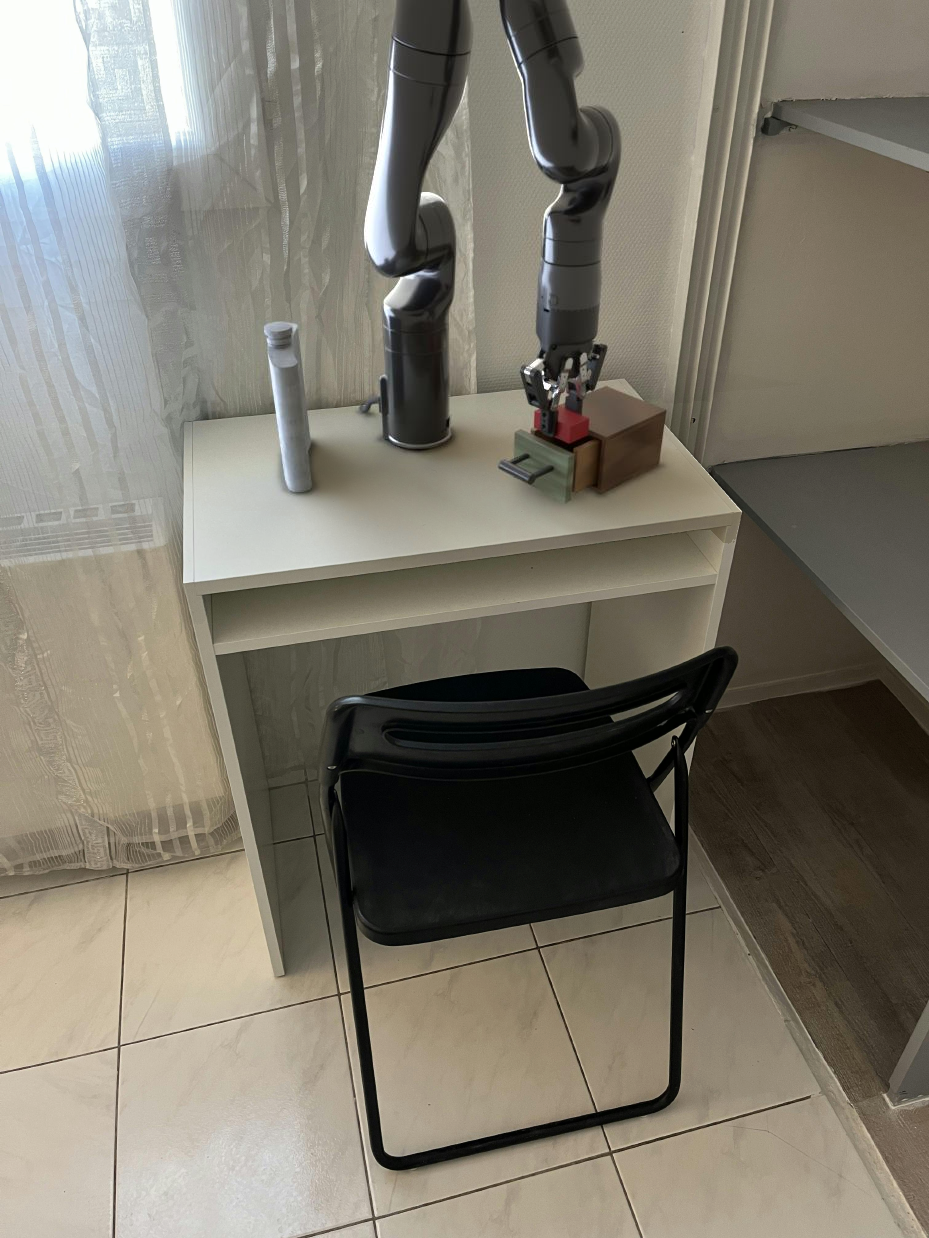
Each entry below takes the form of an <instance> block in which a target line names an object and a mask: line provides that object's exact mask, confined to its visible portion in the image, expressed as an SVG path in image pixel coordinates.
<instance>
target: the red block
mask: <svg viewBox="0 0 929 1238" xmlns="http://www.w3.org/2000/svg"><path fill="white" fill-rule="evenodd" d="M559 405H560V404H559ZM559 405H558V408H557V409H558V410H559V413H558V430H557V435H556V436H554V437H556V438H558V439H560V440H562V441H565V442H567V443H572V442H574V441H576V440H579V439H581V438H583V437H585V436H588V431H589V418H587V417H585V416H583V415H580V414H578V413H576V412H573V411H571V410H569V409H566V408H564V407H561V406H559ZM533 412H534V413H533V414H534V415H533V428H536V429H538V430H540V414H541V409H539V408H537V409H536V410H534V411H533ZM540 431H541V430H540Z"/></svg>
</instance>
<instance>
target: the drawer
mask: <svg viewBox="0 0 929 1238" xmlns="http://www.w3.org/2000/svg"><path fill="white" fill-rule="evenodd" d="M601 444H602V440H600V439H598V438H595V437H593V436H591V435H589V434H588V436H585V437H583V438H581V439H579V440H576V441H574V442H572V443H567V442H565V441H562V440H560V439H558V438H556V437H549V436H547V435H545V434H543V433H542V431H540V430H538V429H536V428H534V427H532V428H530V432H528V431H526V430H524V429H521V428H520V429H518V430H515V431H514V441H513V458H511V459H509V460H506V459H501V460H500V461H499V463H498V469H499V470H500V471H502V472H504V473H505V474H507V475H510V476H512V477H513V478H515V479H516V480H518V481H521V482H522V483H524V484H526V485H528V486H530V487H532V488H534V489H536V490H538V491H539V492H542V493H544V494H545V495H548V496H550V497H552V498H553V499H555V500H558V501H560V502H561V503H564V504H567V503H568V502H570V501H572V495H573V494H577V493H580V492H581V491H583V490H585V489H588V488H587V487H589V486H591V485H593V484H595V483H597V482H598V476H599V465H600V455H601Z"/></svg>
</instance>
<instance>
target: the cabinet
mask: <svg viewBox="0 0 929 1238" xmlns="http://www.w3.org/2000/svg"><path fill="white" fill-rule="evenodd" d="M559 406H561V407H564V408H565V402H562V403H561V404H559ZM582 415H583V416H585V417H587V418H589V431H588V434H589V435H591V436H593V437H595V438H598V439H600V440H602V444H601V455H600V465H599V476H598V482H597V483H595V484H593V485H591V486H589V487H587V488H586V489H588V490H590V491H592V492H595V493H597V494H599V495H603V494H605V493H607V492H608V491H610V490H613V489H614V488H616V487H618V486H620V485H623V484H624V483H626V482H629V481H630V480H633V479H634V478H636V477H639V476H641V475H643V474H644V473H647V472H648V471H651V470H652V469H654V468H656V467H658V466H660V459H661V453H662V445H663V439H664V432H665V424H666V417H667V409H666V408H664V407H660V406H659V405H656V404H654V403H651V402H648V401H645V400H642V399H640V398H638V397H635V396H633V395H630V394H627V393H625V392H624V391H623V392H622V391H619V390H617V389H615V388H612V387H610V386H607V385H604V386H602V387H599V388H597V389H594V390H593V391H589V392H587V393H586V397H585V398H584V399H583V405H582Z"/></svg>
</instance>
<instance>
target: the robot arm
mask: <svg viewBox="0 0 929 1238" xmlns="http://www.w3.org/2000/svg"><path fill="white" fill-rule="evenodd" d="M497 4H498V5H497V6H498V12H499V17H500V22H501V25H502V30H503V33H504V35H505V39H506V42H507V44H508V48H509V50H510V54H511V56H512V59H513V61H514V62H513V63H514V65H515V68H516V69H517V73H518V76H519V78H520V81H521V84H522V98H523V108H524V114H525V123H526V131H527V138H528V144H529V149H530V152H531V156H532V157H533V160H534V162H535V164H536V166H537V167H538V169H539V171H540V173H542V175H543V176H544V177H545V178H546V179H547V180H549V181H550V182H552V183H554V184H557V185H560V191H559V193H558V195H557V197H556V198H555V200H554V201H553V202H551V204H550V205H548V207H547V208H546V209H545V211H544V213H543V216H542V217H543V218H542V223H541V224H542V226H541V245H540V246H541V247H540V248H541V250H540V264H539V268H538V275H537V288H536V290H537V291H536V310H535V311H536V313H535V314H536V315H535V334H536V336H537V338H538V340H539V348H538V352H537V354H536V359H535V361H533V362H532V363H531V364H530V365H527V364H522V365H521V366H520V368H519V374H520V379H521V381H522V386H523V389H524V393H525V396H526V400H527V404H528V405H529V406H531V407H534V408H537V409H541V414H540V430H541V431H542V433H543V434H545V435H547V436H549V437H554V436H556V435H557V430H558V413H559V410H558V409H557V408H558V405H560V404H559V403H560V400H561V397H562V394H564V393H565V392H566V394H567V395H566V396H565V398H564V403H565V408H566V409H569V410H571V411H573V412H576V413H578V414H580V415H582V405H583V399H584V398H585V397H586V394H587V393H589V392H592V391H595V390H596V387H597V385H598V381H599V378H600V375H601V372H602V368H603V365H604V362H605V358H606V356H607V352H608V345H607V344H605V343H602V342H599V341H596V340H595V339H596V337H597V336H598V331H599V318H600V307H601V306H600V305H601V295H602V281H603V273H602V272H603V271H602V256H603V245H604V244H603V242H604V230H605V226H604V225H605V219H606V216H607V213H608V210H609V206H610V204H611V200H612V197H613V192H614V189H615V185H616V181H617V178H618V175H619V174H618V173H619V171H620V166H621V162H622V153H623V139H622V138H623V137H622V130H621V126H620V124H619V121H618V119H617V117H616V116H615V114H614V113H613V111H611V110H610V109H609V108H608V107H606V106H604V105H601V104H598V103H597V104H595V103H592V104H591V103H590V104H586V105H582V106H579V103H578V99H577V91H576V84H575V80H577V79H578V78H579V77H580V75H582V73H583V71H584V68H585V65H586V63H585V62H586V59H585V53H584V50H583V46H582V43H581V40H580V37H579V34H578V30H577V27H576V24H575V20H574V18H573V15H572V12H571V9H570V6H569V5H570V4H569V3H568V0H497ZM389 37H390V39H389V48H388V49H389V50H388V58H387V69H386V70H387V71H386V83H385V84H386V85H385V97H384V104H383V112H382V113H383V114H382V121H381V129H380V136H379V144H378V150H377V151H378V152H377V157H376V163H375V168H374V174H373V178H372V183H371V187H370V192H369V198H368V203H367V208H366V213H365V220H364V233H363V234H364V246H365V251H366V254H367V257H368V261H369V262H370V264H371V266H372V267H373V269H374V270H375V271H376V273H377V274H379V275H380V276H382V277H384V278H386V279H399V280H398V281H397V284H396V285H395V287H394V288H393V289H392V290H391V291H390V292H389V293H388V294H387V295H386V297H385V298H384V299H383V301H382V303H381V311H380V312H381V327H382V328H381V329H382V345H383V346H382V347H383V364H384V372H383V373H382V374H381V375H380V376H379V396H372V397H370V398H368V399H367V401H366V402H365V404H360V405H359V407H358V409H359V411H361V412H363V413H367V412H369V411H370V409H372V408H371V407H372V405H374V404H376V403H377V404H378V413H379V414H381V429H382V439H385V440H387V441H390V443H392V444H393V445H396V446H398V447H401V448H404V449H410V450H426V449H433V448H436V447H439V446H441V445H443V444H445V443H447V442H448V441H449V440H450V439H451V436H452V428H451V424H452V416H451V385H450V383H451V381H450V375H451V373H450V371H451V370H450V310H451V307H452V305H453V302H454V298H455V291H456V268H457V267H456V266H457V231H456V225H455V221H454V217H453V214H452V211H451V209H450V208H449V206H448V203H446V201H445V200H444V199H442V197H440V196H439V195H437V194H436V193H432V192H429V191H427V192H426V191H425V192H423V187H424V183H425V178H426V175H427V172H428V169H429V167H430V164H431V162H432V159H433V158H434V155H435V154H436V152H437V150H438V149H439V146H440V145H441V143H442V141H443V139H444V137H445V136H446V133H447V132H448V130H449V128H450V126H451V124H452V123H453V121H454V119H455V117H456V115H457V113H458V111H459V108H460V106H461V104H462V102H463V99H464V95H465V91H466V87H467V81H468V75H469V69H470V63H471V56H472V49H473V43H474V17H473V10H472V5H471V1H470V0H394V9H393V16H392V22H391V29H390V36H389ZM589 371H590V376H589V375H588V372H589ZM588 376H589V379H588ZM551 381H553V382H551ZM554 382H555V383H554ZM550 393H551V396H550V398H549V394H550Z"/></svg>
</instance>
